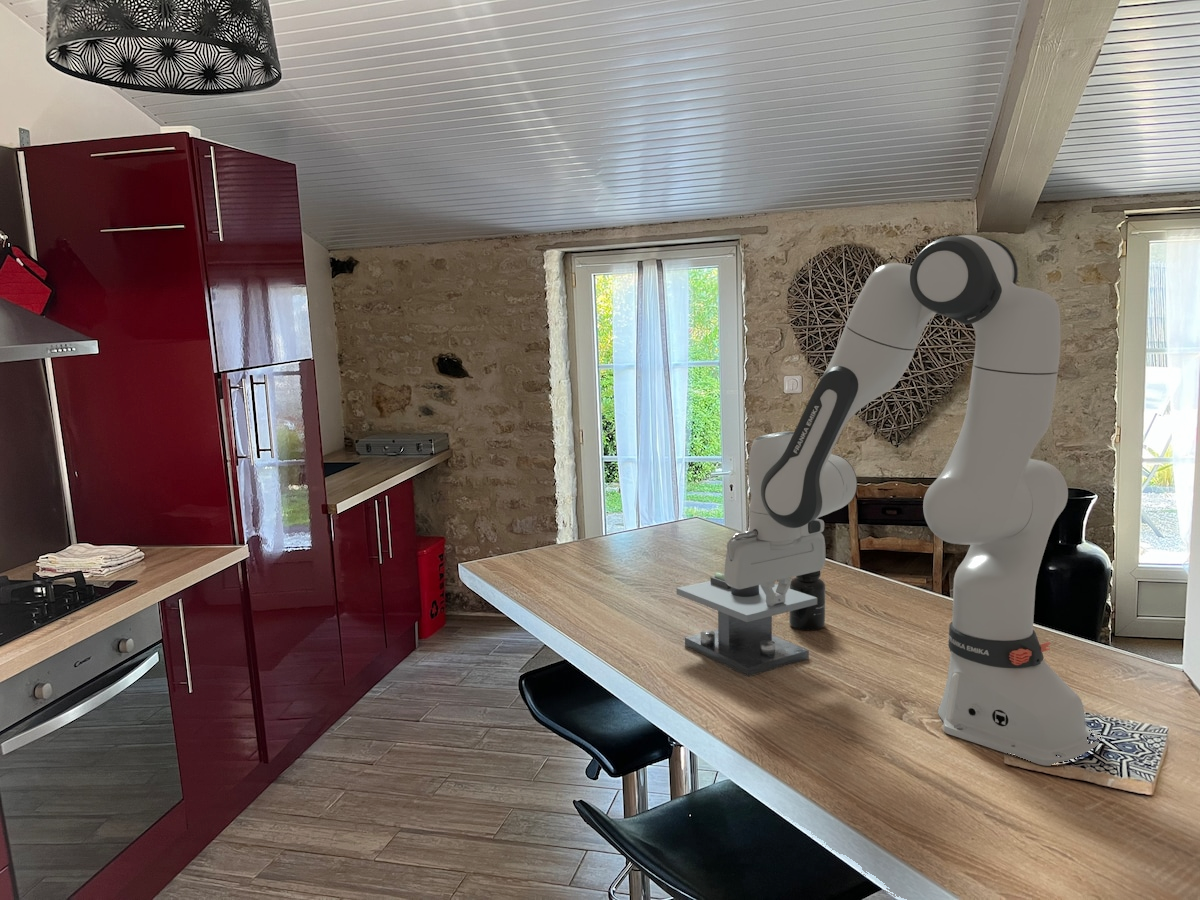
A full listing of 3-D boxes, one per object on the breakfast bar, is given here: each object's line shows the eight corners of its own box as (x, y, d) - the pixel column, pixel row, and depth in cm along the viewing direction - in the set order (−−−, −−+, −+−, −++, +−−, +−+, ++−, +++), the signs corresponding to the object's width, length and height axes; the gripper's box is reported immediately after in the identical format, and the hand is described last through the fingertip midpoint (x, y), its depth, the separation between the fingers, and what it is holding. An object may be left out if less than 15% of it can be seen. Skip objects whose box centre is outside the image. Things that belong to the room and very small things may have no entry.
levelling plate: (817, 607, 164) (817, 575, 163) (746, 625, 156) (746, 592, 155) (743, 582, 181) (743, 553, 180) (676, 597, 173) (675, 567, 172)
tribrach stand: (808, 658, 165) (809, 610, 164) (747, 676, 158) (747, 625, 157) (743, 630, 181) (742, 585, 179) (684, 645, 174) (684, 599, 172)
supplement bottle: (825, 632, 179) (826, 571, 177) (789, 630, 180) (789, 570, 178) (824, 620, 185) (824, 561, 183) (789, 619, 187) (789, 561, 185)
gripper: (739, 538, 151) (740, 620, 153) (831, 520, 161) (831, 597, 163) (715, 531, 156) (716, 610, 158) (805, 514, 167) (805, 589, 169)
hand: (775, 603), depth 161 cm, fingers closed, pressing on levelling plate
